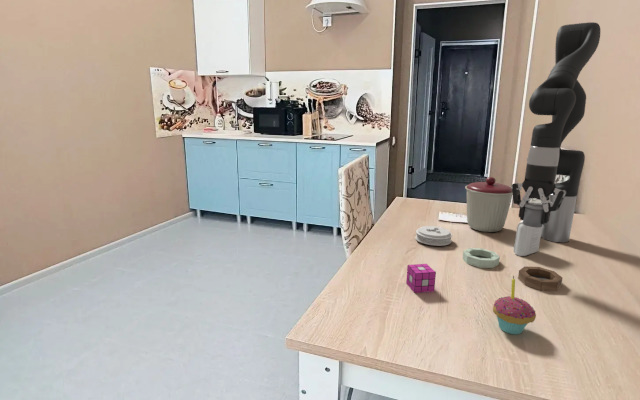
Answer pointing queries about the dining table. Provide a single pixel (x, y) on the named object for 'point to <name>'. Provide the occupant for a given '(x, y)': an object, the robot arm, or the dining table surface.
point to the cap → (533, 214)
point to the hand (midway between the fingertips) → (532, 221)
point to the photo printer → (527, 239)
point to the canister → (488, 205)
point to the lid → (433, 235)
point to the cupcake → (513, 312)
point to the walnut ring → (540, 278)
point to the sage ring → (481, 257)
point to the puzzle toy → (420, 278)
